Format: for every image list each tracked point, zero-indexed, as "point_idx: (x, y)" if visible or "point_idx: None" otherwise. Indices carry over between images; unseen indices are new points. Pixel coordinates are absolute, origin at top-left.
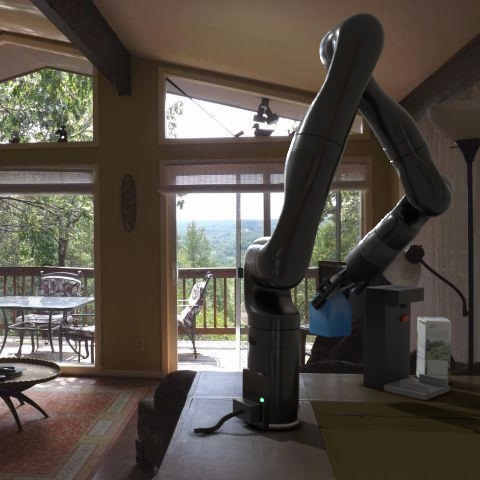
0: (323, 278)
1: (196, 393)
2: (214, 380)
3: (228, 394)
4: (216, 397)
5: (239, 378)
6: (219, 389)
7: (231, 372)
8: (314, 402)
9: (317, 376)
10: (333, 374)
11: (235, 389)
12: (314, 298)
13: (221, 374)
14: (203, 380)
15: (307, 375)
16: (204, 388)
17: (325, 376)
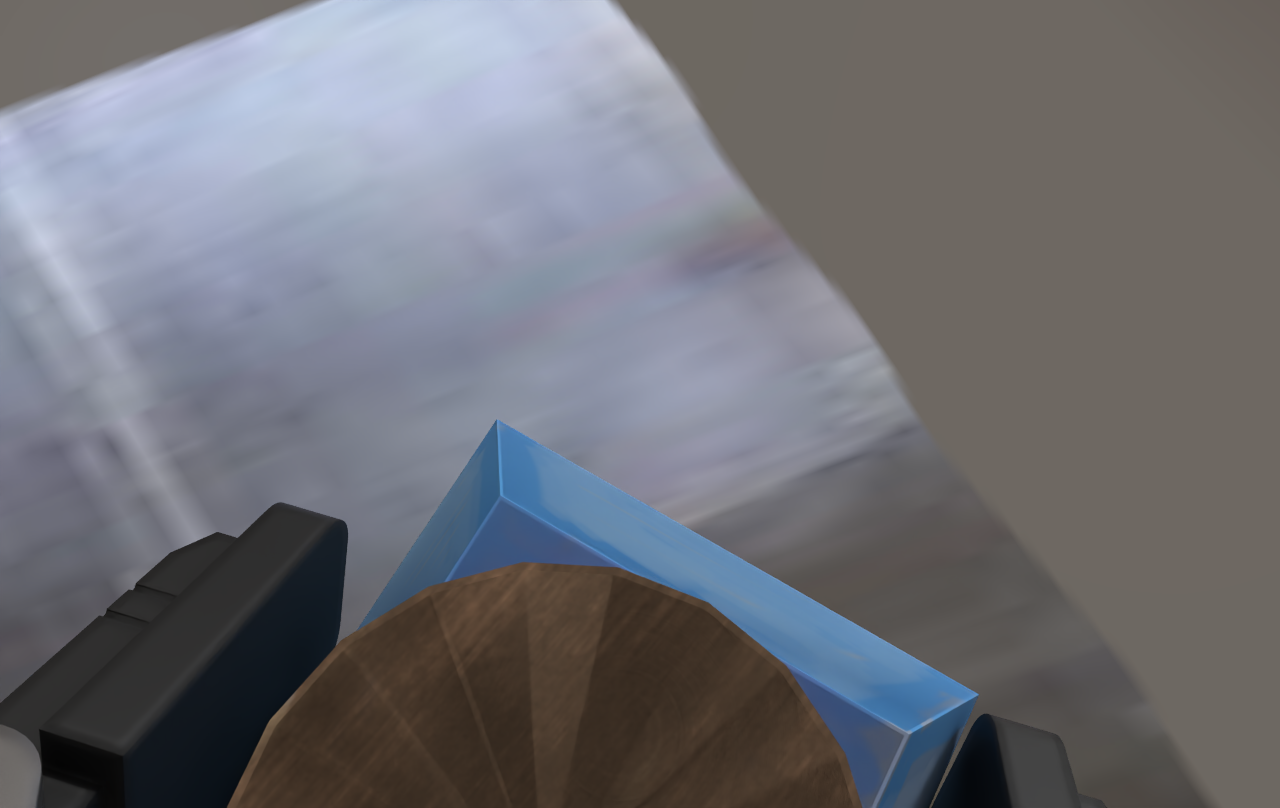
0: (499, 586)
1: (54, 107)
2: (385, 61)
3: (122, 254)
4: (26, 228)
5: (521, 153)
6: (203, 168)
7: (634, 56)
8: None
9: (923, 553)
10: (1072, 636)
11: (253, 240)
12: (487, 479)
13: (548, 32)
14: (349, 15)
15: (900, 481)
16: (180, 95)
17: (967, 604)
